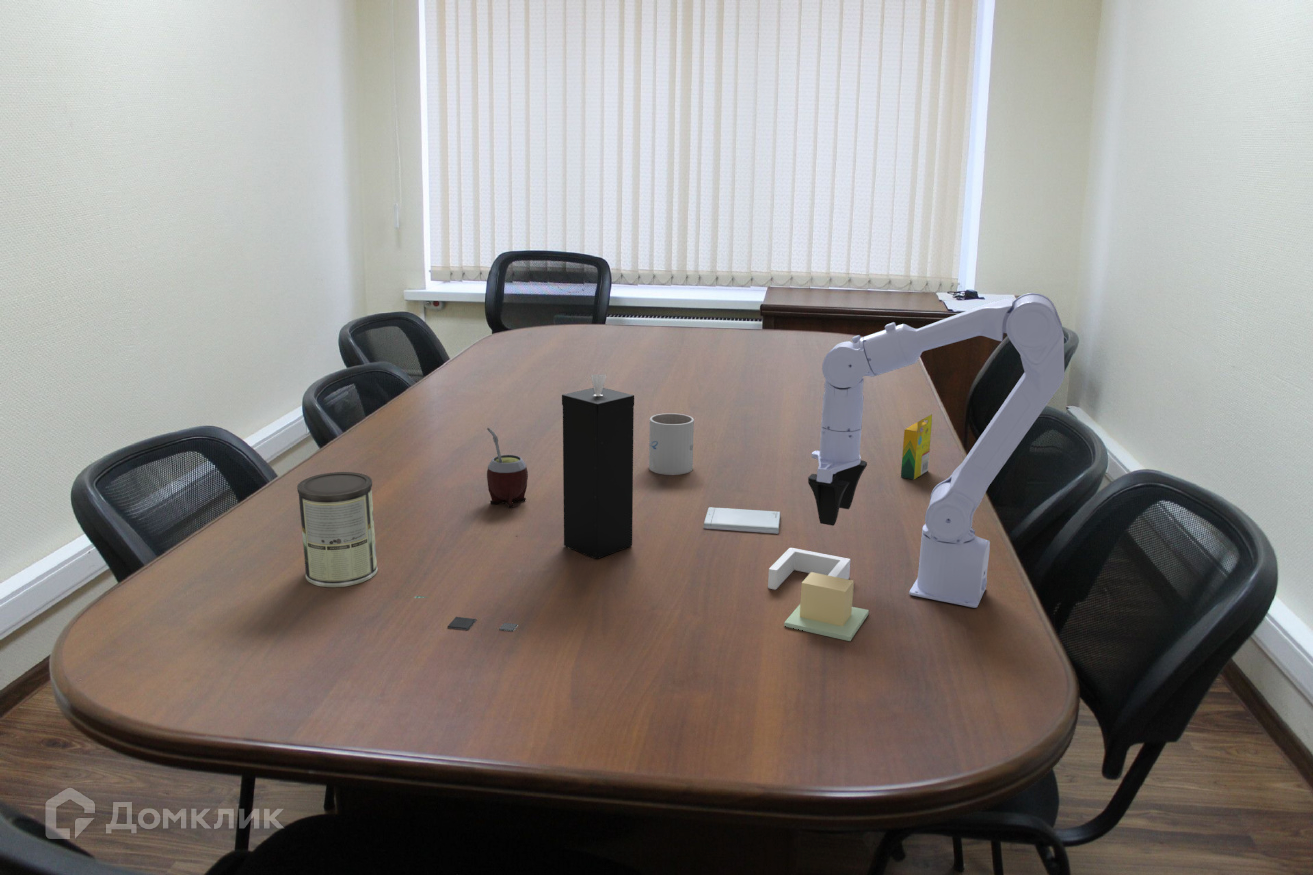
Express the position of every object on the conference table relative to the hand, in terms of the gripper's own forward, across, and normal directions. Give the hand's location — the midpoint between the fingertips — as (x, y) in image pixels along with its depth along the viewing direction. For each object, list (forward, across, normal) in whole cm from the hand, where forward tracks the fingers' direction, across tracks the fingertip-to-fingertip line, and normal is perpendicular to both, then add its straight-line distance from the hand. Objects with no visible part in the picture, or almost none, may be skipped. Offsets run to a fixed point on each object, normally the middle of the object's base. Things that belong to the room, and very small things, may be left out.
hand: (835, 515), depth 151 cm
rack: (+9, +4, -2) cm, 11 cm away
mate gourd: (+10, -3, -60) cm, 61 cm away
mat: (+9, +15, +4) cm, 18 cm away
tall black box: (+10, +7, -36) cm, 38 cm away
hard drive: (+10, -14, -20) cm, 26 cm away
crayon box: (+10, -55, 0) cm, 56 cm away
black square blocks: (+10, +39, -38) cm, 55 cm away
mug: (+10, -37, -44) cm, 58 cm away
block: (+9, +15, +4) cm, 18 cm away
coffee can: (+10, +34, -64) cm, 73 cm away
